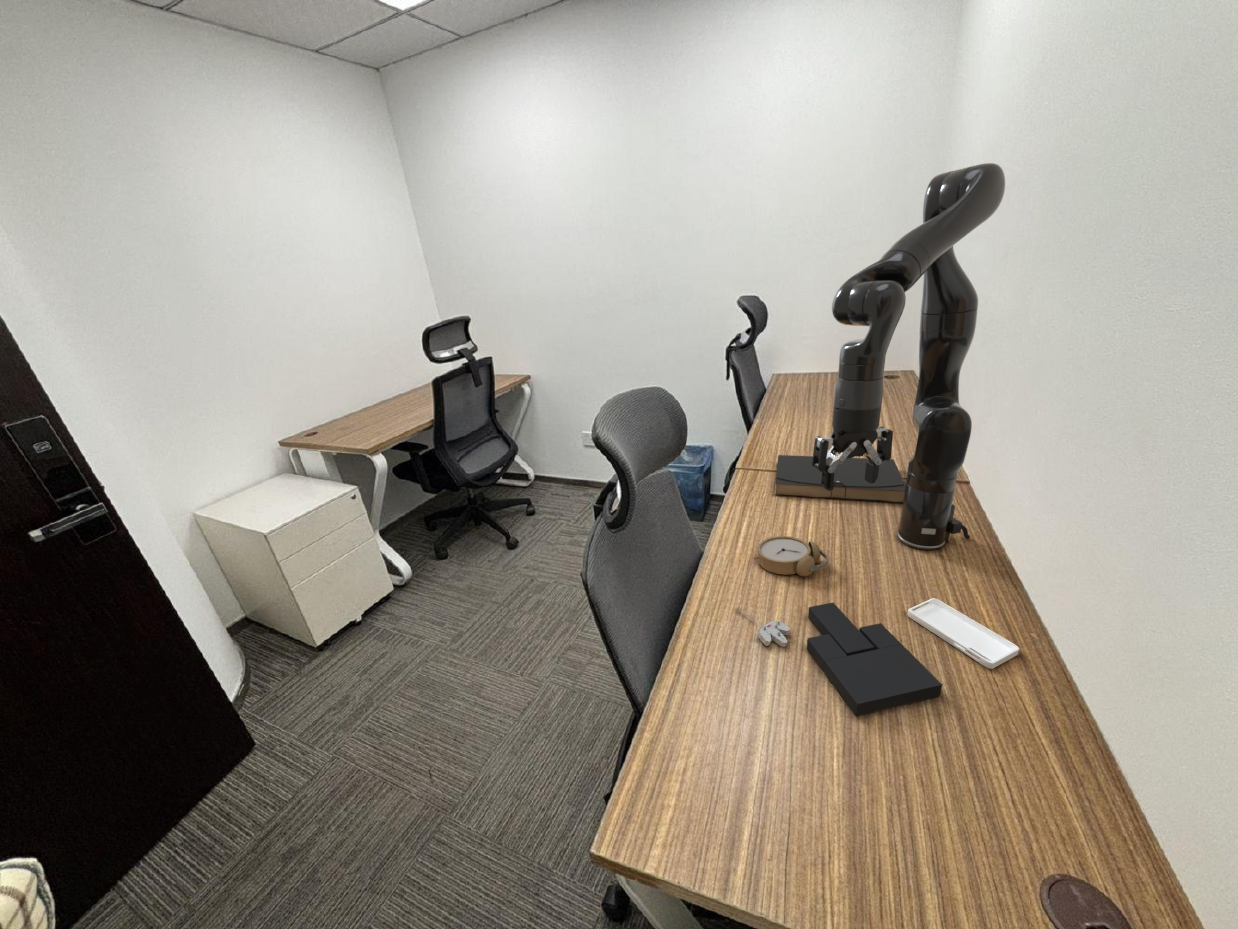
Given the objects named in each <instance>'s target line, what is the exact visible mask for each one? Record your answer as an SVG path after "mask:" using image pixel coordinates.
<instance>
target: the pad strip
mask: <svg viewBox="0 0 1238 929" xmlns="http://www.w3.org/2000/svg"><path fill="white" fill-rule="evenodd" d="M807 618H808V620H809V621H810V622H811V623H812V624H813V626H814V627H815V628H816V629H817V630H818V632H819V633H820V634H821V635H826V634H830V636H831V637H832V638H833V639H834V640H835V642H836V643H837V644H838V645H839V646H840V648H841V649H842V650H843V651H844V652H845V654H846V655H847V656H850V655H854V654H859V653H864V652H868V651H873V650H874V646H873V645H872V644H871V643H870V642H869V641H868V640H867V639H866V638H865V636H864V635H863V634H862V633H861V632H860V631H859V628H858V627H856V626H855V624H854V623H853V622H852V621H851V620H850V619H849V618H848V616H846V615H845V614H844V612H843V611H842V610H841V609H840V608H839V607H838V606H837V605H836V604H835V603H834V602H827V603H822V604H818V605H813V606H809V607H808V613H807Z"/></svg>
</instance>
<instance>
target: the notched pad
mask: <svg viewBox="0 0 1238 929" xmlns="http://www.w3.org/2000/svg"><path fill="white" fill-rule="evenodd" d="M858 630H859V631H860V632H861V633H862V634H863V635H864V636H865V638H866V639H867V640H868V641H869V642H870V643H871V644H872V645H873V646H874V650H873V651H868V652H864V653H859V654H854V655H850V656H847V655H846V654H845V652H844V651H843V650H842V649H841V648H840V646H839V645H838V644H837V643H836V642H835V640H834V639H833V638H832V637H831V636H830V634H826V635H822V634H821V635H817V636H812V637H808V638H807V640H806V651H807V652H808V653H809V655H810V656H811V658H812V659H813V660H814V662H815V663H816V664H817V666H818V667H819V668H820V670H821V671H822V672H823V673H824V675H825V677H826V678H827V679H828V681H829V682H830V683H831V685H832V686H833V687H834V689H835V690H836V691H837V693H838V694H839V695H840V697H841V698H842V699H843V702H845V703H846V705H847V706H848V708H849V710H851V711H852V713H853V714H854V716H855V717H858V716H863V715H867V714H871V713H876V712H879V711H880V712H881V711H884V710H888V709H892V708H897V707H901V706H905V705H910V704H914V703H919V702H923V701H927V700H931V699H935V698H939V697H940V696H941V693H942V689H943V684H942V683H941V681H940V680H939V679H938V678H937V677H935V676H934V674H932V673H931V672H930V671H929V670H928V669H927V667H926V666H924V664H922V663H921V661H920V660H919V659H917V658H916V657H915V656H914V655H913V654H912V652H910V651H909V649H908V648H906V647H905V645H903V644H902V643H901V642H900V641H899V639H898V638H896V636H894V635H893V634H892V632H890V631H889V630H888V628H886V627H885V626H884V625H883V623H881V622H880V623H874V624H869V625H864V626H860V627H859V628H858Z"/></svg>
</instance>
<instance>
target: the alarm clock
mask: <svg viewBox="0 0 1238 929" xmlns="http://www.w3.org/2000/svg"><path fill="white" fill-rule="evenodd" d="M756 549H757V555H756V556H754V557H753V560H757V561H758V564H759V566H760V567H761V568H762V569H764V570H766V571H767V572H770V573H772V574H777V575H785V576H786V575H795V574H797V575H798V576H800V577H809V576H810V575H812V574H813V573H814V571H818V570H822V569H825V568H826V567H827V566H828V564H829V556H828V554H826V553H825V552H824V551H823V550H822V549H820V547H819V545H818V544H817V543H816V542H814V541H808V543H807V542H806V541H805V540H802V539H801V538H798V537H794V536H791V535H790V536H789V535H778V536H777V535H776V536H775V535H774V536H771V537H767V538H766V539H763V540H762V541H761V542H760V543H758V546H757V548H756ZM821 557H823V558H824V559H825V561H824V562H823V563H821V564H818V565H816V563H817V562H819V560H820V559H821Z"/></svg>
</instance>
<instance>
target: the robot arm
mask: <svg viewBox="0 0 1238 929" xmlns="http://www.w3.org/2000/svg"><path fill="white" fill-rule="evenodd" d="M1005 190H1006V176H1005V171H1004V170H1003V168H1002V167H1001V166H1000V165H999V164H997V163H994V162H987V163H986V162H985V163H979V164H975V165H971V166H967V167H963V168H958V169H955V170H950V171H947V172H946V171H945V172H942V173H940V174H936V175H935V176H934V177H932V178H931V180H930V181H929V182H928V184H927V187H926V190H925V193H924V198H923V203H922V204H923V205H922V224H920V225H917V226H916V227H914V228H913V229H911V230H909V231H908V232H907V233H905V234H904V235H902V236H901V237H900V238H899V239H898V240H896V241H895V242H894V243H893V244H892V245H891V246H890V247H889V249H887V250H886V251H885V253H883V254H882V256H881V257H880V258H879V259H878V260H877V261H875V262H874V263H872V264H870V265H868V266H866V267H864V268H863V269H862V270H859V271H858V272H857V273H854V275H852V276H850V277H849V278H848V279H847V280H846V281H844V282H843V284H841V285H840V287H839V288H838V289H837V291H836V293H835V295H834V297H833V299H832V303H831V312H832V317H833V319H835V320H836V321H837V322H838V323H839V324H841V325H844V326H856V327H858V326H859V327H868V331H867V333H866V335H865V337H863V338H860V339H853V340H849V341H847V342H845V343H843V344H842V345H841V347H840V351H839V356H838V357H839V358H838V371H837V378H836V379H837V380H836V384H835V388H834V398H833V411H832V421H831V422H832V423H831V425H832V433H831V436H829V437H828V436H827V437H822V436H820V435H817V436H815V438H814V445H813V452H812V456H813V459H812V466H813V467H815V468H816V469H818V470H819V471H821V472H822V479H821V484H822V486H823V487H824V488H825V489H826V490H828V491H831V490H833V486H834V475H835V473H834V472H833V471H834V470H835V469H836V467H837V466H838V465H839V464H842V463H843V461H844V460H845V459H846V458H847V459H848V458H856V457H857V458H861V457H864V458H867V460H868V461H869V462H866V470H865V480H866V481H867V482H869V483H870V484H872V483H875V481H876V480H877V478H878V472H879V465H880V464H881V463H882V462H883V461H885V460H886V461H888V460H890V459H892V452H893V451H892V450H893V438H894V431H893V430H892V429H889V428H887V427H885V426H882V425H881V426H880V420H881V410H882V403H883V397H884V374H885V366H886V357H887V353H888V349H889V346H890V344H891V341H892V340H893V339H892V338H893V337H894V334H895V331H896V328H897V326H898V324H899V322H900V319H901V318H902V316H903V313H904V309H905V307H906V292H908V291H909V290H910V289H911V288H912V287H914V285H916V283H917V282H918V281H919V280H920V279H921V278H922V276H923V281H922V298H921V304H920V305H921V307H920V316H919V318H920V319H919V339H918V340H919V342H918V364H919V367H918V369H919V372H918V373H919V374H918V383H917V388H916V394H915V398H914V404H913V408H912V416H911V417H912V418H911V421H912V425H913V428H914V429H915V431H916V433H917V439H916V445H915V451H914V454H913V455H911V457H910V458H909V461H908V464H907V472H906V478H905V491H904V498H903V503H901V511H900V519H899V524H898V530H897V535H896V536H897V539H898V540H899V541H900V542H901V543H902V544H904V545H905V546H907V547H910V548H913V549H917V550H923V551H935V550H936V551H937V550H939V549H942V548H943V547H944V546H945V544H948V543H949V540H950V535H955V534H961V531H962V533H963V534H962V535H963V537H964V538H965V539H966V540H970V539H971V536H970V534H969V531H968V528H967V527H966V526H965V525H964V524H963V522H962V521H960V520H958V519H956V518H955V517H954V514H955V511H956V506H955V504H954V503H953V500H954V496H955V490H956V485H957V481H958V475H959V471H960V469H961V467H962V466H963V464H964V463H965V460H966V456H967V452H968V447H969V443H970V440H971V434H972V430H973V429H972V428H973V423H972V422H973V421H972V418H971V415H970V414H969V412H968V411H967V410H966V409H964V407H962V406H961V404H960V392H959V391H960V375H961V371H962V367H963V364H964V362H965V359H966V357H967V356H968V353H969V350H970V348H971V345H972V343H973V340H974V337H975V333H976V328H977V320H978V319H977V318H978V310H979V309H978V308H979V296H978V294H977V291H976V289H975V286H974V284H973V283H972V281H971V280H970V278H969V277H968V275H967V274H966V272H965V270H964V269H963V267H962V266H961V264H960V262H959V261H958V259H957V256H956V253H955V249H954V246H955V245H956V244H957V243H958V242H960V241H961V240H963V239H964V238H966V236H967V235H969V234H970V233H971V232H973V231H974V230H975V229H977V228H978V227H980V225H982V224H983V223H985V222H986V221H987V220H989V219H990V218H991V217H992V216H993V215H995V213H996V212H997V210H998V208H999V207H1000V206H1001V203H1002V201H1003V198H1004V195H1005V192H1006V191H1005ZM875 441H876V449H875V448H874V446H873V444H874V443H875ZM836 454H838V455H836ZM830 463H831V464H830Z"/></svg>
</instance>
